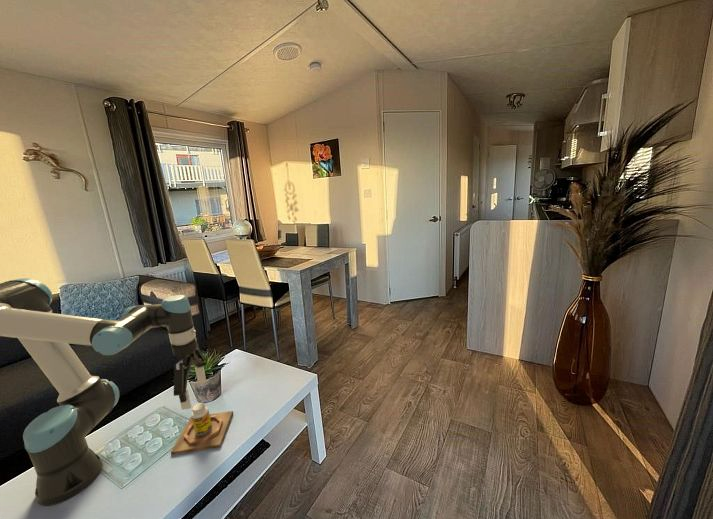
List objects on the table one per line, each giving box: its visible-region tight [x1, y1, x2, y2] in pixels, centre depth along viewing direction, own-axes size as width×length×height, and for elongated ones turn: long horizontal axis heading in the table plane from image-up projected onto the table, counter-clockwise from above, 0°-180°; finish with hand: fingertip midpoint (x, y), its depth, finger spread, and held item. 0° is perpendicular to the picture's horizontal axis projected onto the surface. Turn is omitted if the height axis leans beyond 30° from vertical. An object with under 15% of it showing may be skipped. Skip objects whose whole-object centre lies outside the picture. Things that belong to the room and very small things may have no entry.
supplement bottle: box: [190, 402, 212, 435], centre depth 107 cm, size 6×6×10 cm
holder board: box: [170, 410, 234, 456], centre depth 108 cm, size 16×16×2 cm
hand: (195, 394), depth 105 cm, fingers open, 13 cm apart
